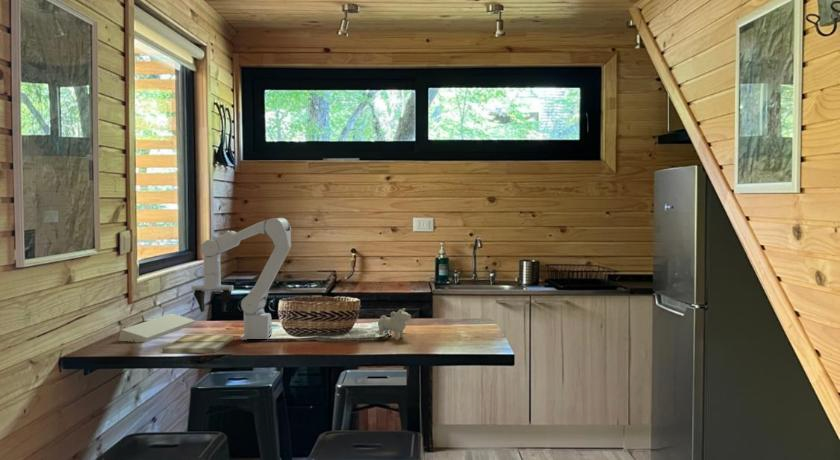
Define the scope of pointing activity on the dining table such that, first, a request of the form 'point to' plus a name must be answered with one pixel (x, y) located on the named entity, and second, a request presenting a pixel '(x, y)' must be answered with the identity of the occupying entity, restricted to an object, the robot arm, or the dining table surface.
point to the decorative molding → (155, 328)
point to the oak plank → (206, 338)
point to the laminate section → (193, 347)
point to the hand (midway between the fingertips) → (213, 311)
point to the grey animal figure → (394, 323)
